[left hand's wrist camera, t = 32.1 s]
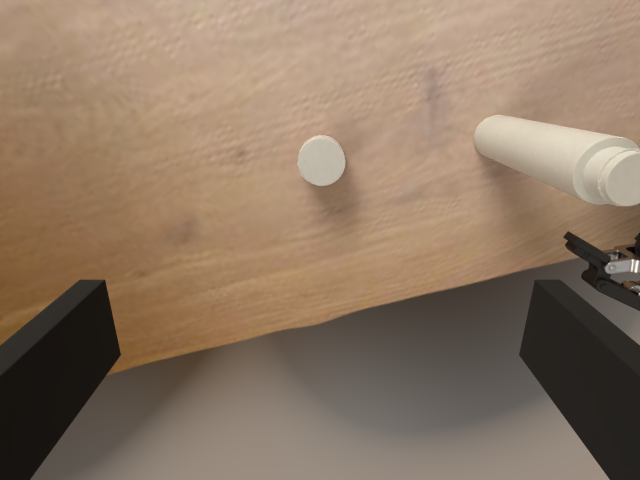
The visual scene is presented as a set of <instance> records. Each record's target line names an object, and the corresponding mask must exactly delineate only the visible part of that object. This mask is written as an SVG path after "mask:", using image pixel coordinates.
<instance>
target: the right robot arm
mask: <svg viewBox="0 0 640 480" xmlns="http://www.w3.org/2000/svg"><path fill="white" fill-rule="evenodd" d="M563 238H565V239H566V240H568V242H567V243H566V244H565V246H566V247H567V249H568V250H570V251H571V252H573V253H574V254H576V255H577V256H579V257H581V258H582V259H584V260H586V261H588V262H589V268H588V270H585V271H584V272H583V273H582V275H581V277H582V279H583V280H585V281H586V282H587V283H588V284H590V285H591V286H592V287H594V288H595V289H596V290H597V291H599V292H601V293H603V294H605V295H607V296H609V297H611V298H614V299H616V300H618V301H620V302H622V303H624V304H626V305H628V306H630V307H633V308H635V309H637V310H639V311H640V281H637V282H633V281H629V282H626V281H623V282H622V283H621V284H620V283H618V282H616V281H614V280H612V279H610V276H611V274H615V273H622V272H634V273H640V233H639V234H638V235H637V236H636V237H635V238H634V239H636V240H637V241H636V243H635V244H630V245H622V246H616V247H614V249H611V250H603V251H601V250H599V249H598V248H596V247H594V246H592V245H591V244H589V243H587V242H586V241H584V240H582V239H580V238H579V237H577V236H575V235H574V234H572V233H570V232H569V231H568V232H567V233H566V234H565V236H564V237H563Z"/></svg>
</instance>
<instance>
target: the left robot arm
mask: <svg viewBox="0 0 640 480" xmlns="http://www.w3.org/2000/svg"><path fill="white" fill-rule="evenodd" d="M120 355H121V354H120V349H119V344H118V339H117V335H116V330H115V325H114V320H113V316H112V311H111V306H110V301H109V297H108V292H107V287H106V282H105V280H79V281H78V282H77V283H75V284H74V285H73V286H72V287H71V288H69V289H68V290H67V291H66V292H65V293H63V294H62V295H61V296H60V297H58V298H57V299H56V300H55V301H54V302H52V303H51V304H50V305H49V306H48V307H46V308H45V309H44V310H43V311H42V312H40V313H39V314H38V315H37V316H35V317H34V318H33V319H32V320H31V321H29V322H28V323H27V324H26V325H25V326H23V327H22V328H21V329H20V330H19V331H17V332H16V333H15V334H14V335H12V336H11V337H10V338H9V339H8V340H6V341H5V342H4V343H3V344H2V345H0V480H30V479H31V477H32V476H33V475H34V473H35V472H36V471H37V469H38V468H39V467H40V465H41V464H42V462H43V461H44V460H45V458H46V457H47V456H48V454H49V453H50V451H51V450H52V449H53V447H54V446H55V445H56V443H57V442H58V440H59V439H60V438H61V436H62V435H63V434H64V432H65V431H66V429H67V428H68V427H69V425H70V424H71V423H72V421H73V420H74V418H75V417H76V416H77V414H78V413H79V412H80V410H81V409H82V408H83V406H84V405H85V403H86V402H87V401H88V399H89V398H90V397H91V395H92V394H93V392H94V391H95V390H96V388H97V387H98V386H99V384H100V383H101V381H102V380H103V379H104V377H105V376H106V375H107V373H108V372H109V370H110V369H111V368H112V366H113V365H114V364H115V362H116V361H117V359H118V358H119V357H120ZM519 355H520V357H521V358H522V359H523V361H524V362H525V364H526V365H527V366H528V368H529V369H530V370H531V372H532V373H533V375H534V376H535V377H536V379H537V380H538V381H539V383H540V384H541V386H542V387H543V388H544V390H545V391H546V392H547V394H548V395H549V397H550V398H551V399H552V401H553V402H554V403H555V405H556V406H557V408H558V409H559V410H560V412H561V413H562V414H563V416H564V417H565V419H566V420H567V421H568V423H569V424H570V425H571V427H572V428H573V429H574V431H575V432H576V433H577V435H578V436H579V438H580V439H581V440H582V442H583V443H584V445H585V446H586V447H587V449H588V450H589V451H590V453H591V454H592V456H593V457H594V458H595V460H596V461H597V462H598V464H599V465H600V467H601V468H602V469H603V471H604V472H605V473H606V475H607V476H608V478H609V479H610V480H640V345H638V344H637V343H636V342H635V341H634V340H632V339H631V338H630V337H629V336H627V335H626V334H625V333H624V332H623V331H621V330H620V329H619V328H618V327H617V326H615V325H614V324H613V323H612V322H610V321H609V320H608V319H607V318H606V317H605V316H603V315H602V314H601V313H600V312H598V311H597V310H596V309H595V308H594V307H592V306H591V305H590V304H589V303H588V302H586V301H585V300H584V299H583V298H582V297H580V296H579V295H578V294H577V293H575V292H574V291H573V290H572V289H571V288H569V287H568V286H567V285H566V284H565V283H563V282H562V281H561V280H535V282H534V287H533V292H532V297H531V301H530V306H529V311H528V316H527V320H526V325H525V330H524V335H523V339H522V344H521V349H520V354H519Z"/></svg>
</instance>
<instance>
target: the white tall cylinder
mask: <svg viewBox="0 0 640 480" xmlns="http://www.w3.org/2000/svg"><path fill="white" fill-rule="evenodd" d="M474 144H475V147H476V149H477V150H478V152H479V153H480V154H482V155H484V156H486V157H488V158H490V159H492V160H495V161H497V162H499V163H501V164H504V165H506V166H508V167H510V168H512V169H515V170H517V171H519V172H521V173H523V174H526V175H528V176H530V177H532V178H534V179H537V180H539V181H541V182H543V183H545V184H548V185H550V186H552V187H554V188H557V189H559V190H561V191H563V192H565V193H568V194H570V195H572V196H574V197H576V198H579V199H581V200H583V201H585V202H588V203H590V204H596V205H603V204H611V205H615V206H633V205H637V204H639V203H640V149H639V147H638V146H637V145H636V144H635V143H634V142H632V141H631V140H629V139H627V138H623V137H618V136H612V135H607V134H602V133H596V132H591V131H585V130H580V129H575V128H569V127H564V126H558V125H553V124H547V123H542V122H537V121H531V120H526V119H520V118H515V117H510V116H504V115H492V116H490V117H487V118H486V119H484V120H483V121H482V122H481V123H480V124H479V125H478V127H477V129H476V131H475V134H474Z"/></svg>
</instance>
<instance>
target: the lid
mask: <svg viewBox="0 0 640 480" xmlns="http://www.w3.org/2000/svg"><path fill="white" fill-rule="evenodd" d="M345 164H346V160H345V155H344V152H343V149H342V147H341V145H340V144H339V143H338V142H337V141H336V140H335V139H333V138H332V137H329V136H325V135H318V136H314V137H312V138H310V139H309V140H307V141H306V142H305V143H304V145H303V146H302V148H301V150H300V153H299V157H298V167H299V171H300V173H301V175H302V176H303V177H304V179H306V180H307V181H308V182H309V183H311V184H314V185H317V186H326V185H330V184H332V183H334V182H336V181H337V180H338V179H339V178H340V177H341V175H342V174H343V172H344V169H345Z"/></svg>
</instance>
